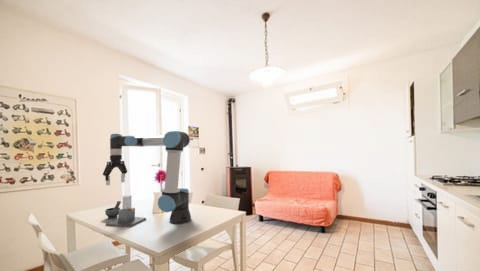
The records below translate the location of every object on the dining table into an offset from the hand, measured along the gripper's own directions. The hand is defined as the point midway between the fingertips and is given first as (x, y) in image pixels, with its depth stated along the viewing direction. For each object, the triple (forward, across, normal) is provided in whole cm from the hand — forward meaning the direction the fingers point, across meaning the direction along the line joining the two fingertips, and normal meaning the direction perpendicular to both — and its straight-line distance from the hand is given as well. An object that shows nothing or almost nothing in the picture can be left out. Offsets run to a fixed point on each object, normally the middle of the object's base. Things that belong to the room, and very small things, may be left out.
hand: (115, 183), depth 155 cm
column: (+26, -1, +9) cm, 27 cm away
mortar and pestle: (+27, -8, -9) cm, 30 cm away
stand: (+28, -1, +9) cm, 29 cm away
